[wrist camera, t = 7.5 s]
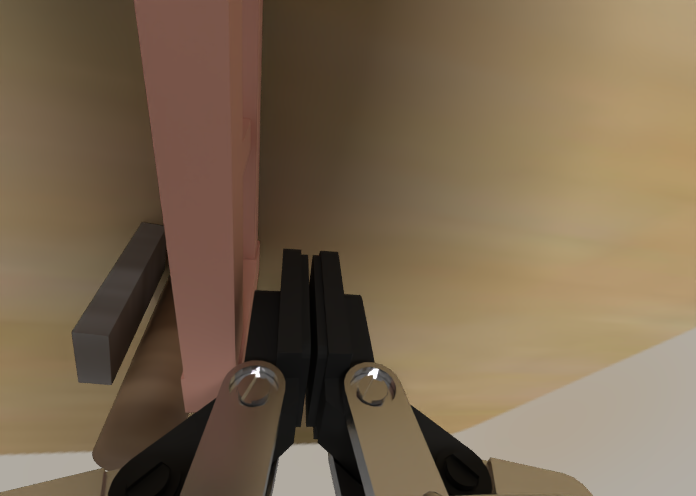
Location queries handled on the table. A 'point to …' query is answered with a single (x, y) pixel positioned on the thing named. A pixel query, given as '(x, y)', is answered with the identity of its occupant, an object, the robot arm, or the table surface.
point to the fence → (151, 355)
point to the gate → (206, 173)
